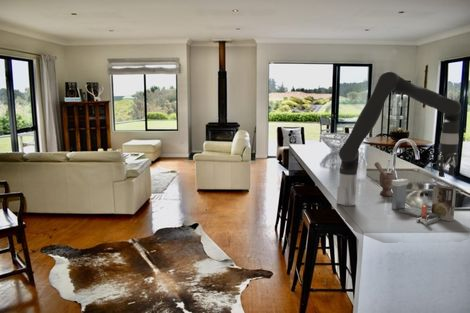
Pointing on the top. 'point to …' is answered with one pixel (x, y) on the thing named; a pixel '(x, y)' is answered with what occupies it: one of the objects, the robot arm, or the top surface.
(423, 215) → the lever
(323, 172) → the top surface
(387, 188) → the mortar and pestle
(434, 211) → the coffee box
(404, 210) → the press
